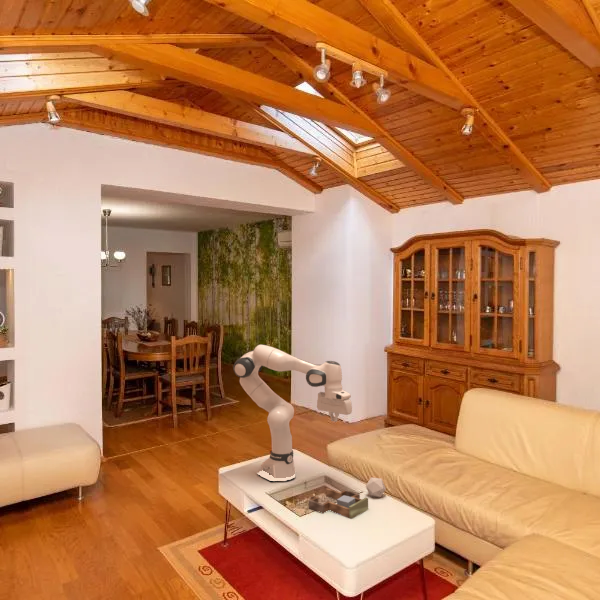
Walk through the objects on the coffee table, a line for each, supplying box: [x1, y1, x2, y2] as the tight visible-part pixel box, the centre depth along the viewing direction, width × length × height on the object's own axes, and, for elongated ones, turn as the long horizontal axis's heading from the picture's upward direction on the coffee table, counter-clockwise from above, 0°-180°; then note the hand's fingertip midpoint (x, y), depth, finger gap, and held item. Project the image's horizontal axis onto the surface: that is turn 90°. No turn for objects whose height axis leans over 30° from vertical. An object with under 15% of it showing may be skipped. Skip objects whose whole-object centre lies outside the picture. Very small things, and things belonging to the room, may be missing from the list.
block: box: [336, 495, 355, 508], centre depth 219 cm, size 6×6×4 cm
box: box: [308, 487, 369, 519], centre depth 221 cm, size 24×21×5 cm
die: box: [365, 476, 387, 498], centre depth 232 cm, size 8×9×10 cm
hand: (334, 421), depth 241 cm, fingers closed
